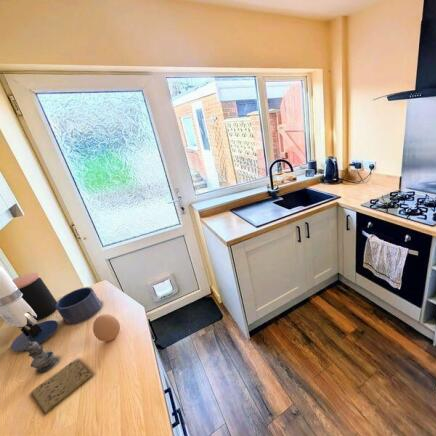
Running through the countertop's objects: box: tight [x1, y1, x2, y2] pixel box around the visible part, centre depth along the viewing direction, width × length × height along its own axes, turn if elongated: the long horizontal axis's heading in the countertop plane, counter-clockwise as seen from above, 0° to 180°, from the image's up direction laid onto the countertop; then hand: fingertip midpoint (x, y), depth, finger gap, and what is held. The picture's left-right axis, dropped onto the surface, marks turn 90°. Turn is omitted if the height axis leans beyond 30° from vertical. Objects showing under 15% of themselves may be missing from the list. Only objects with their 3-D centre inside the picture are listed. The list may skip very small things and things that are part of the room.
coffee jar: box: [11, 272, 58, 321], centre depth 105 cm, size 11×11×18 cm
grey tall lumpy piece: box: [25, 341, 58, 374], centre depth 82 cm, size 6×6×12 cm
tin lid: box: [10, 319, 59, 352], centre depth 94 cm, size 14×14×6 cm
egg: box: [92, 313, 121, 342], centre depth 90 cm, size 8×8×11 cm
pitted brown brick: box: [31, 359, 92, 414], centre depth 77 cm, size 12×12×1 cm
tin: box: [55, 286, 102, 325], centre depth 105 cm, size 13×13×8 cm
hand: (34, 333), depth 95 cm, fingers closed on tin lid, 2 cm apart
